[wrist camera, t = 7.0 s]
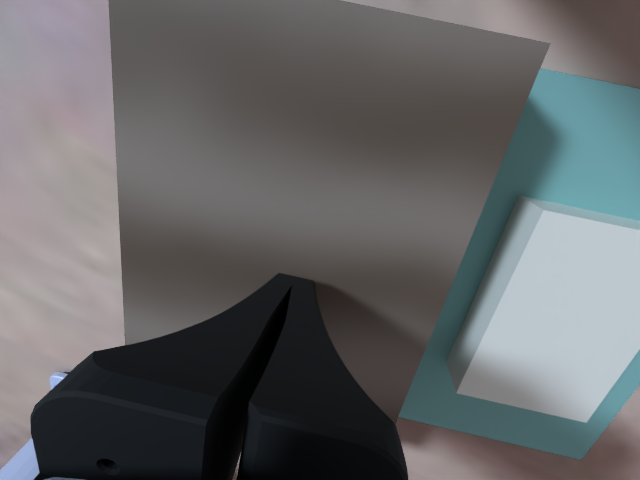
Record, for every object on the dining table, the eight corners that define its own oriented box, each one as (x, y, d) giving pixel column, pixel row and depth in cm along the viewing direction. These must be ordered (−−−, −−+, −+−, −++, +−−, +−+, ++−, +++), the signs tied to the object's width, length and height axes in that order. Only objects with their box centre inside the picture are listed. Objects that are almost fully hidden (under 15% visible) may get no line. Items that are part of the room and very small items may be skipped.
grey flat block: (371, 405, 19) (373, 475, 16) (171, 358, 20) (128, 416, 16) (493, 60, 12) (549, 43, 9) (179, -5, 13) (106, -48, 9)
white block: (456, 393, 15) (445, 362, 17) (586, 422, 15) (562, 388, 17) (543, 209, 12) (518, 195, 14) (714, 246, 12) (666, 226, 14)
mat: (577, 453, 19) (581, 460, 19) (371, 405, 19) (371, 410, 19) (822, 128, 12) (836, 129, 12) (493, 60, 12) (497, 59, 12)
